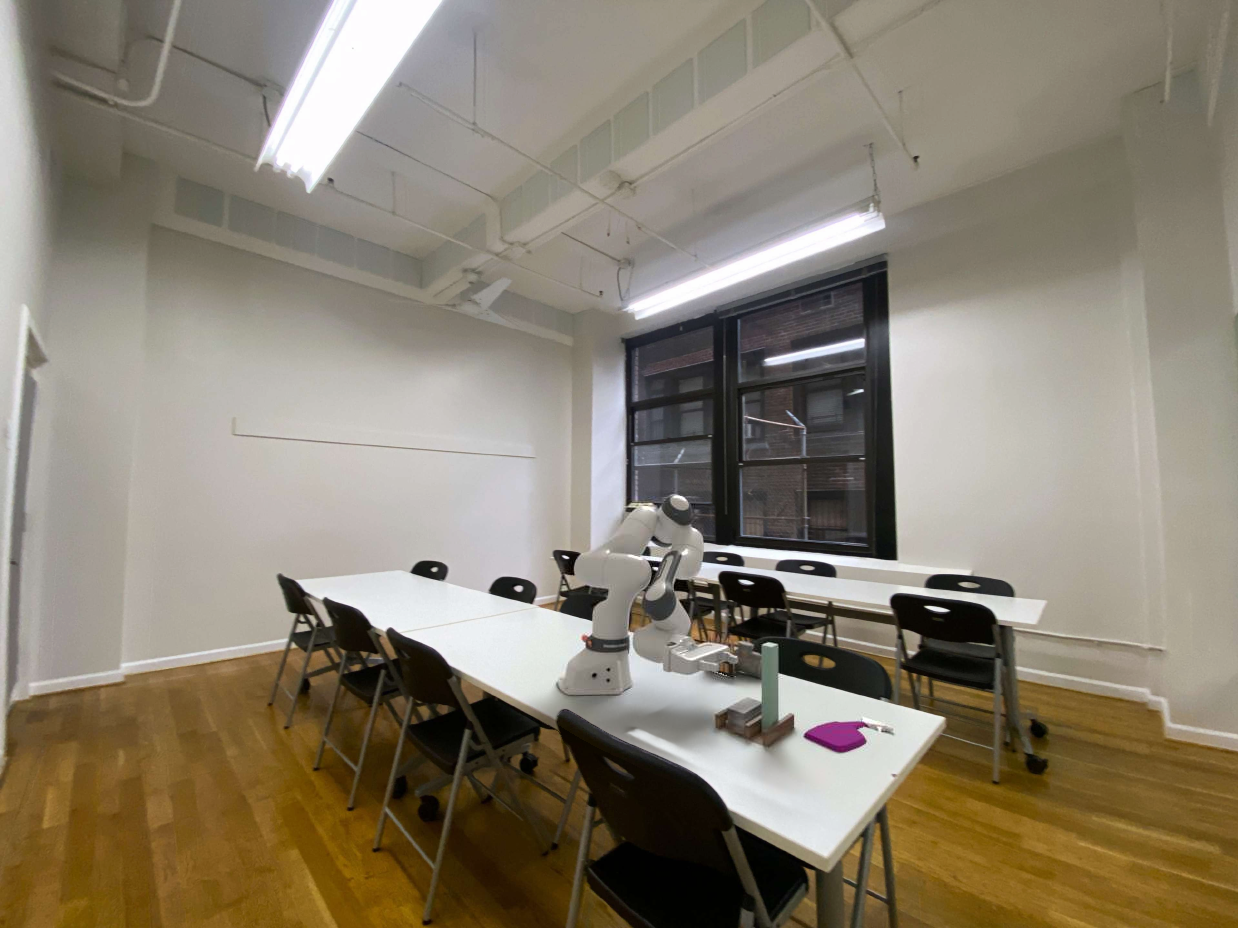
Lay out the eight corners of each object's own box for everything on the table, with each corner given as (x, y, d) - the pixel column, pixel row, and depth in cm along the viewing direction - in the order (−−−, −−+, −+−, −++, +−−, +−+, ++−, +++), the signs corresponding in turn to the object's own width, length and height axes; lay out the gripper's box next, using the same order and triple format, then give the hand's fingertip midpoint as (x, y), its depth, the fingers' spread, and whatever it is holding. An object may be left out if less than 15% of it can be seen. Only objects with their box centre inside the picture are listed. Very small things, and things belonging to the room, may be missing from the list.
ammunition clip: (705, 669, 162) (705, 632, 163) (708, 668, 163) (708, 631, 164) (733, 678, 154) (733, 639, 155) (736, 677, 156) (736, 638, 157)
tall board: (761, 733, 113) (761, 644, 115) (768, 728, 116) (768, 642, 118) (771, 736, 112) (771, 647, 113) (778, 731, 114) (778, 644, 116)
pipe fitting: (722, 671, 159) (727, 640, 160) (732, 667, 165) (736, 637, 166) (758, 684, 151) (762, 651, 152) (767, 680, 158) (771, 648, 159)
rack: (715, 733, 116) (715, 714, 116) (744, 716, 126) (744, 698, 126) (768, 754, 106) (768, 732, 107) (795, 733, 117) (795, 714, 117)
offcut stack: (725, 727, 116) (725, 708, 116) (748, 714, 124) (748, 695, 124) (744, 734, 112) (744, 714, 113) (766, 720, 120) (766, 701, 121)
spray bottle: (798, 743, 113) (855, 720, 127) (843, 764, 104) (899, 737, 118) (798, 729, 113) (855, 708, 127) (843, 749, 104) (899, 724, 118)
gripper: (703, 656, 140) (747, 668, 130) (659, 672, 125) (706, 686, 115) (703, 634, 140) (747, 644, 131) (660, 647, 125) (706, 659, 116)
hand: (727, 664), depth 123 cm, fingers open, 8 cm apart
